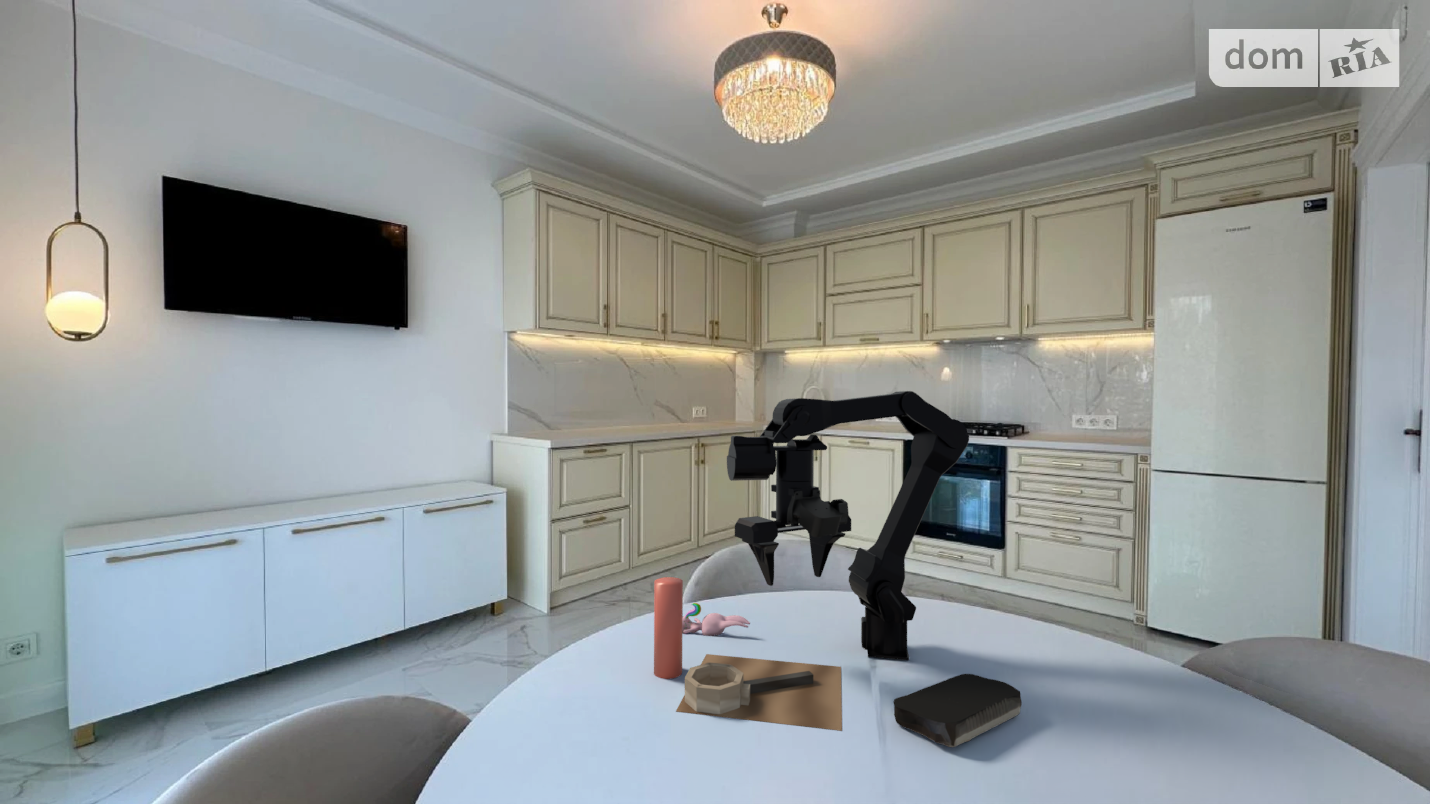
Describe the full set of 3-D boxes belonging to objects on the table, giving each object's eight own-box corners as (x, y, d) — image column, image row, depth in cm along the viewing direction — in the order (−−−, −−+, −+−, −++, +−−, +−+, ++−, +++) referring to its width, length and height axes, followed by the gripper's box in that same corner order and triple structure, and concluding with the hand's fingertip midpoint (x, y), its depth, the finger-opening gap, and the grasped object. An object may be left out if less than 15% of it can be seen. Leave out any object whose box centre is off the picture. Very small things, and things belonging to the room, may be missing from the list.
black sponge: (947, 761, 64) (947, 728, 64) (886, 725, 71) (886, 695, 71) (1028, 719, 73) (1028, 690, 73) (967, 691, 80) (967, 665, 80)
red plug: (685, 675, 83) (685, 578, 84) (677, 688, 79) (678, 586, 80) (658, 672, 84) (659, 576, 84) (650, 685, 80) (650, 584, 80)
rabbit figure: (660, 647, 97) (746, 642, 93) (655, 611, 97) (740, 605, 93) (673, 633, 103) (755, 628, 99) (668, 599, 103) (749, 593, 99)
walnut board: (841, 675, 84) (841, 645, 84) (841, 740, 67) (841, 704, 67) (706, 662, 88) (706, 634, 88) (675, 721, 71) (675, 686, 71)
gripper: (776, 489, 78) (776, 606, 78) (877, 481, 87) (877, 585, 87) (732, 480, 87) (732, 584, 87) (827, 474, 97) (827, 568, 97)
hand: (794, 580), depth 89 cm, fingers open, 9 cm apart
